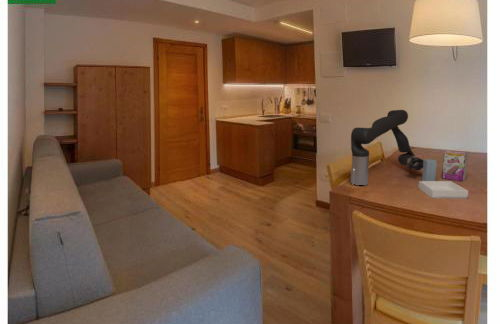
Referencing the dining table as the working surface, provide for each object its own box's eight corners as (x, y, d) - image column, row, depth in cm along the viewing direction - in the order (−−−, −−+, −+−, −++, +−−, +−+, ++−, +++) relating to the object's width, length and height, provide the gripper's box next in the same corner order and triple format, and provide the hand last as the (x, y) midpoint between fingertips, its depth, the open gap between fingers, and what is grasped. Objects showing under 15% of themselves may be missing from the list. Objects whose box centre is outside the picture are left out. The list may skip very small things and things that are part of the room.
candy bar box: (441, 178, 188) (443, 152, 185) (444, 177, 192) (446, 150, 188) (462, 181, 180) (465, 154, 177) (465, 180, 183) (468, 152, 180)
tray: (432, 198, 154) (432, 190, 153) (418, 188, 172) (419, 181, 171) (467, 198, 152) (468, 190, 151) (450, 188, 169) (450, 181, 168)
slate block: (425, 185, 176) (427, 161, 173) (421, 183, 181) (423, 159, 178) (434, 185, 175) (436, 161, 172) (431, 183, 180) (433, 159, 177)
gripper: (403, 157, 197) (413, 162, 182) (427, 157, 195) (439, 162, 179) (403, 168, 199) (412, 174, 183) (427, 168, 197) (438, 174, 181)
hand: (425, 168), depth 181 cm, fingers open, 8 cm apart
